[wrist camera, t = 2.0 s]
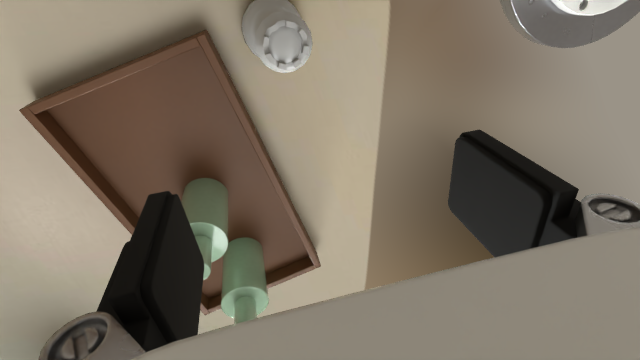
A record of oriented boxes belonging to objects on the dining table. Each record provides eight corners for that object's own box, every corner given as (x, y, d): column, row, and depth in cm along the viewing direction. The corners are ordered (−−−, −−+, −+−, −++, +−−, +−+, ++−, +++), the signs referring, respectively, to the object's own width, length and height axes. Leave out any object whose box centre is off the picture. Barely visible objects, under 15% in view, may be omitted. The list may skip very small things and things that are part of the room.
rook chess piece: (310, 46, 26) (336, 68, 19) (257, 69, 26) (266, 99, 19) (288, -16, 24) (309, -15, 17) (230, 9, 24) (229, 20, 17)
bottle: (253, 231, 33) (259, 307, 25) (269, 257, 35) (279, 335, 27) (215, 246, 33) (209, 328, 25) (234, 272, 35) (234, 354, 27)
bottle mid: (215, 170, 29) (209, 240, 21) (236, 204, 31) (238, 279, 23) (172, 188, 29) (150, 264, 21) (196, 221, 31) (184, 301, 23)
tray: (206, 29, 24) (204, 33, 22) (316, 251, 37) (321, 266, 35) (35, 99, 24) (18, 110, 22) (206, 298, 37) (204, 315, 35)
